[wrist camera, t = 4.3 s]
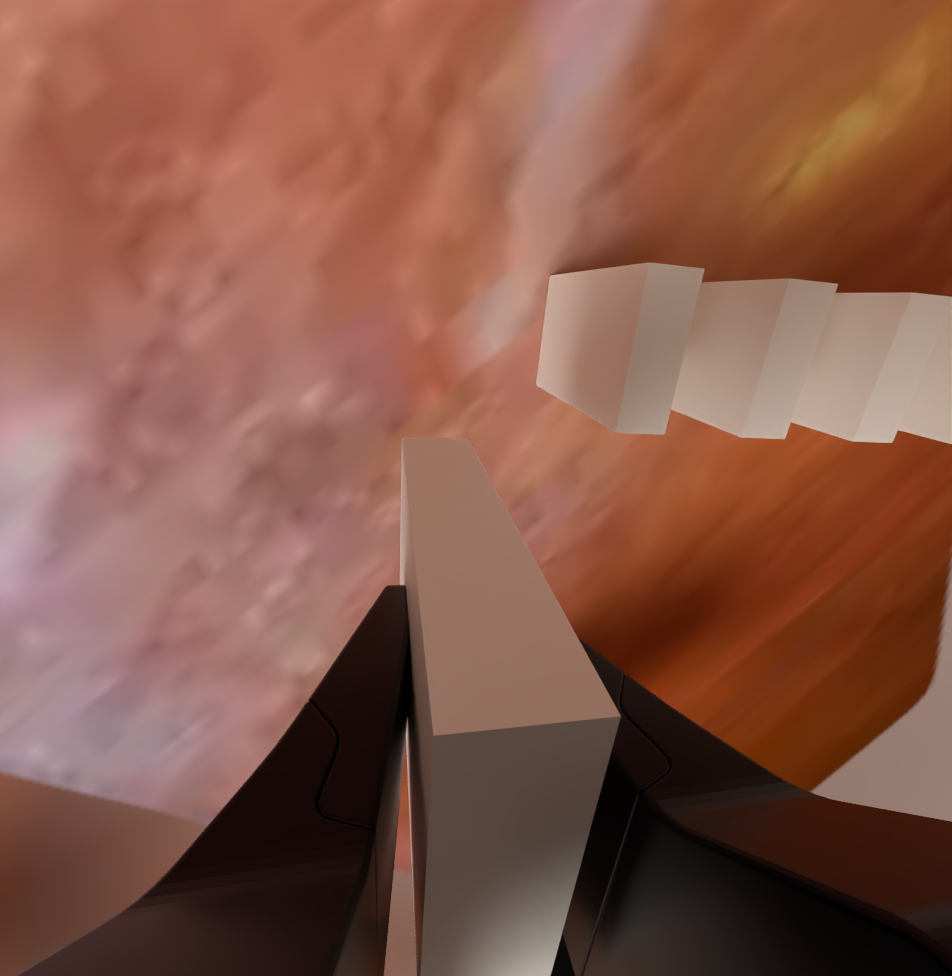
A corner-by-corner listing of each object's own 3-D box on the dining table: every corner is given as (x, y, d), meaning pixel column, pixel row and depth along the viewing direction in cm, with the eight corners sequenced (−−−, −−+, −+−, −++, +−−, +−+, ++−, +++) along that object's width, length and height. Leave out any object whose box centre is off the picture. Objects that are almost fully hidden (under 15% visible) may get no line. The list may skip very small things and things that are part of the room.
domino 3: (652, 391, 22) (785, 439, 14) (621, 389, 21) (741, 437, 14) (675, 288, 20) (838, 283, 13) (642, 284, 20) (789, 278, 12)
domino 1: (457, 592, 13) (549, 982, 6) (399, 595, 13) (417, 1009, 5) (468, 438, 11) (620, 715, 4) (401, 437, 11) (433, 736, 4)
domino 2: (569, 386, 21) (664, 434, 14) (535, 384, 21) (615, 432, 13) (586, 279, 19) (704, 268, 12) (550, 275, 19) (649, 262, 12)
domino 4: (730, 395, 23) (892, 442, 15) (701, 393, 22) (852, 441, 15) (758, 296, 21) (955, 297, 14) (727, 293, 21) (912, 292, 13)
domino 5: (802, 399, 23) (989, 446, 16) (775, 397, 23) (953, 444, 16) (835, 304, 22) (1060, 308, 14) (807, 301, 21) (1021, 304, 14)
